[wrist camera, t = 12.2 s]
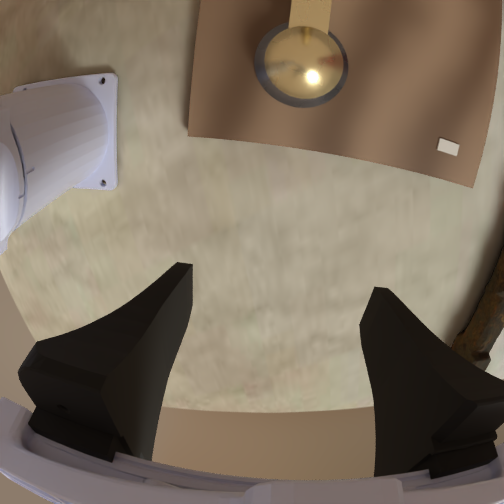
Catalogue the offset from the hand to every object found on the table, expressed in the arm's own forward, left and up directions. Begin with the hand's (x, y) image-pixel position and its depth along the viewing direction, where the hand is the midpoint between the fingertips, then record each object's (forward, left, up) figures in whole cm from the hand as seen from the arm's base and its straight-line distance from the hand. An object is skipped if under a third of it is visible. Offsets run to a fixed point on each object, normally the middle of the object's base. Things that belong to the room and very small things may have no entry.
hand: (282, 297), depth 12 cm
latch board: (+4, +13, -9) cm, 16 cm away
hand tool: (+21, -6, -10) cm, 24 cm away
